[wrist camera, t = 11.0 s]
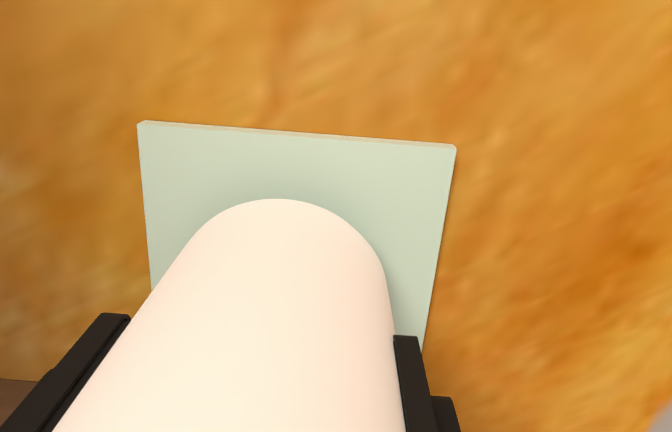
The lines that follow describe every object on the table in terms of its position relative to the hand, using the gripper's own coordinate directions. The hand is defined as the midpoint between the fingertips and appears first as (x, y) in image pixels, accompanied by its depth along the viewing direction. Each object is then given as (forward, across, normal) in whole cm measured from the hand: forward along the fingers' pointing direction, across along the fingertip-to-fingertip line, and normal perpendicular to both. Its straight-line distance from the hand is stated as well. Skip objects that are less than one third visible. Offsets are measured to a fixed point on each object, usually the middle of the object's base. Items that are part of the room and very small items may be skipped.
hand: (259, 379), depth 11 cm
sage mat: (+6, 0, 0) cm, 6 cm away
